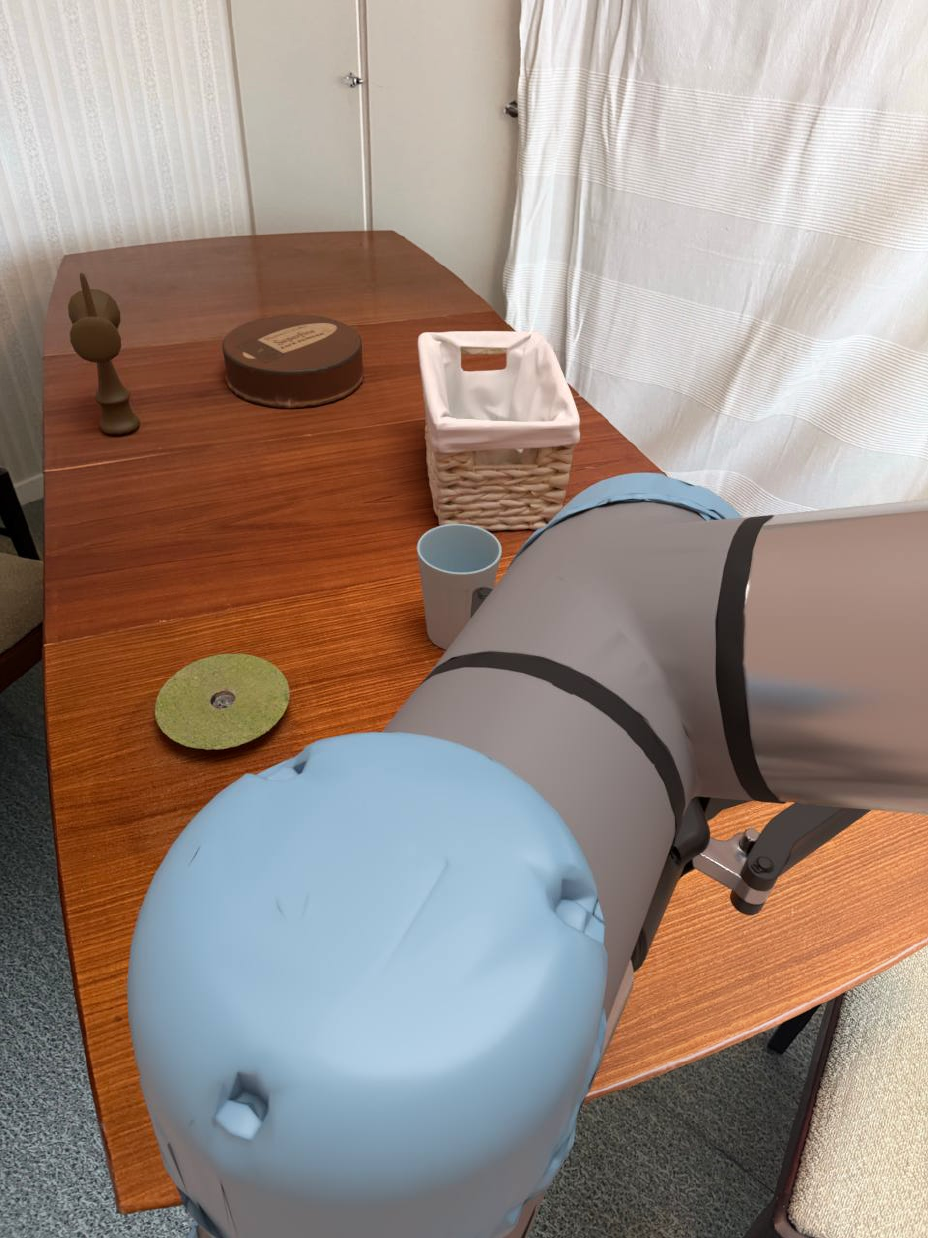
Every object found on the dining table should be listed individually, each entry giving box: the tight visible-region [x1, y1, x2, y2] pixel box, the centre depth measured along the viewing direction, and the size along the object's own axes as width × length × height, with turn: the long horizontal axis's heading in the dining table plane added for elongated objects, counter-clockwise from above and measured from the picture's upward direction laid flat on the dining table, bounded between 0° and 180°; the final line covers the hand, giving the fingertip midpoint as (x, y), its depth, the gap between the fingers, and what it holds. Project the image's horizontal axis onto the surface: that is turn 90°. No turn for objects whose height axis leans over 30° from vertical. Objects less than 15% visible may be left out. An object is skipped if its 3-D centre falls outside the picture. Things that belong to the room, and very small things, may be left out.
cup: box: [416, 524, 503, 651], centre depth 78 cm, size 8×8×10 cm
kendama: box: [67, 272, 141, 436], centre depth 103 cm, size 6×10×20 cm, turn 19°
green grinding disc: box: [154, 653, 291, 751], centre depth 72 cm, size 11×11×2 cm
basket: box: [417, 330, 581, 532], centre depth 98 cm, size 24×16×15 cm
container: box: [221, 313, 365, 409], centre depth 121 cm, size 20×20×6 cm
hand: (715, 593), depth 43 cm, fingers open, 13 cm apart
